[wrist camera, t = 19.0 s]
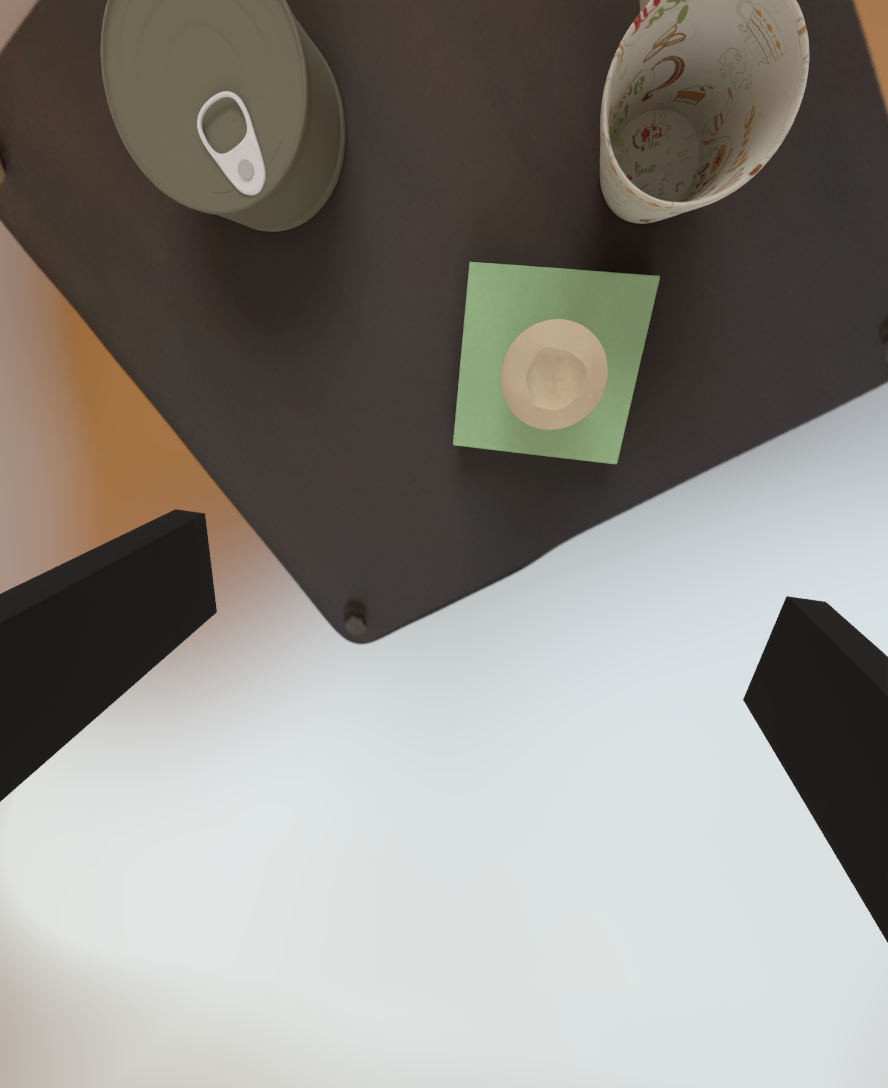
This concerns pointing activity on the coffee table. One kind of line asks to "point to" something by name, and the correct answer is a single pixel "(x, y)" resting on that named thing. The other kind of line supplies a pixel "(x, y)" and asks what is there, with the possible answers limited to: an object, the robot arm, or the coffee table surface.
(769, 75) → the mug
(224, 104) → the can
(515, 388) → the candle
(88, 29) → the coffee table surface
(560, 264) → the coffee table surface
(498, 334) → the foam pad
